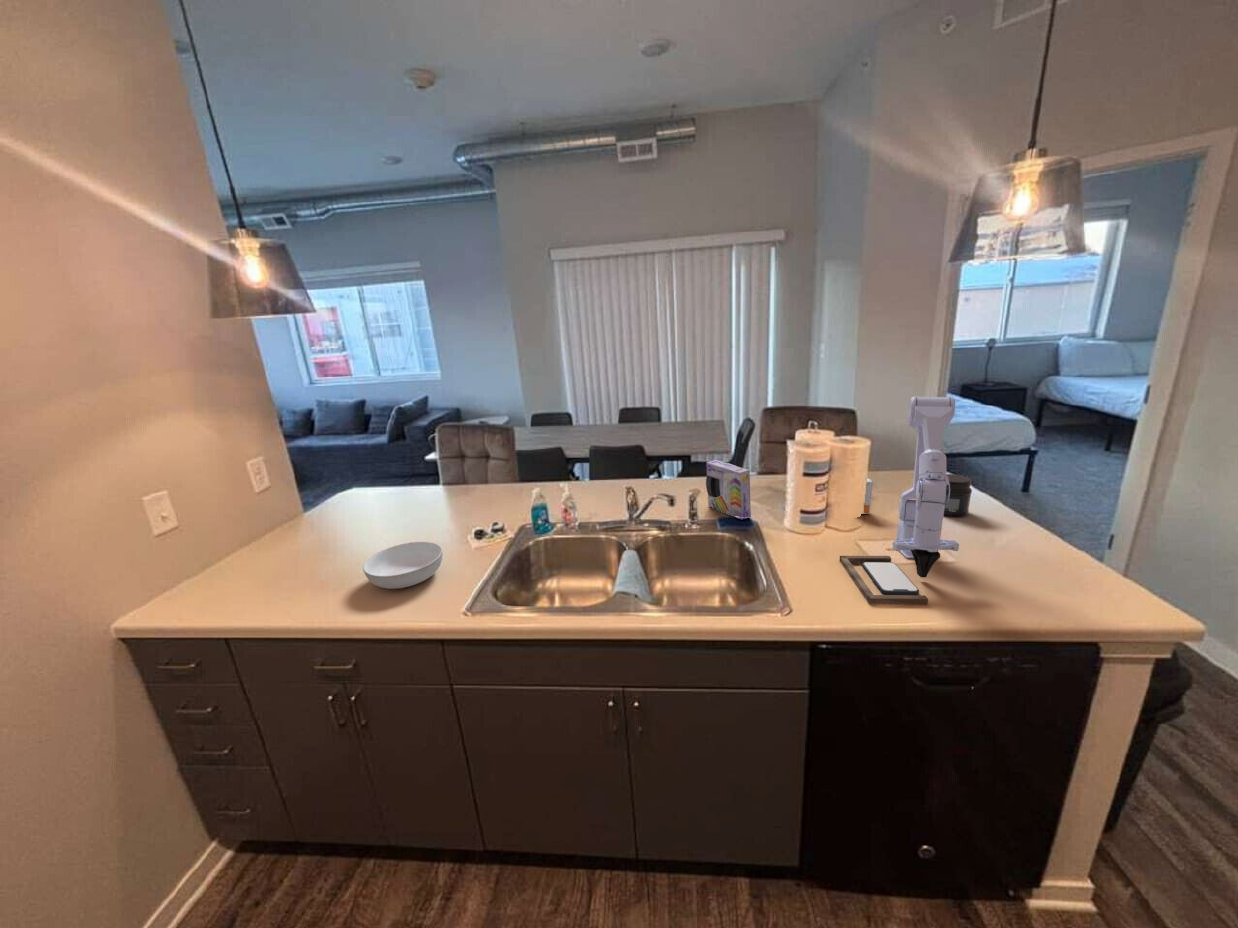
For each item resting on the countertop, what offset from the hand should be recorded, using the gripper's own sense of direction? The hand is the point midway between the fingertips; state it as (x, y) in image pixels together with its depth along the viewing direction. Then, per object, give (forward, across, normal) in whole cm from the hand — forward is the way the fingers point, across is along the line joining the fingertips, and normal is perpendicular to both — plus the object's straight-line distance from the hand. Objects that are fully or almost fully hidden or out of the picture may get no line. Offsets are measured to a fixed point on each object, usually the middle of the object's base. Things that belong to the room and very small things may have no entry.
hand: (921, 575), depth 126 cm
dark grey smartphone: (+2, -8, +1) cm, 8 cm away
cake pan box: (+2, -44, +48) cm, 65 cm away
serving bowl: (+2, -138, 0) cm, 139 cm away
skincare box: (+2, 0, +46) cm, 46 cm away
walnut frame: (+2, -10, 0) cm, 10 cm away
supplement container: (+2, +30, +46) cm, 55 cm away
